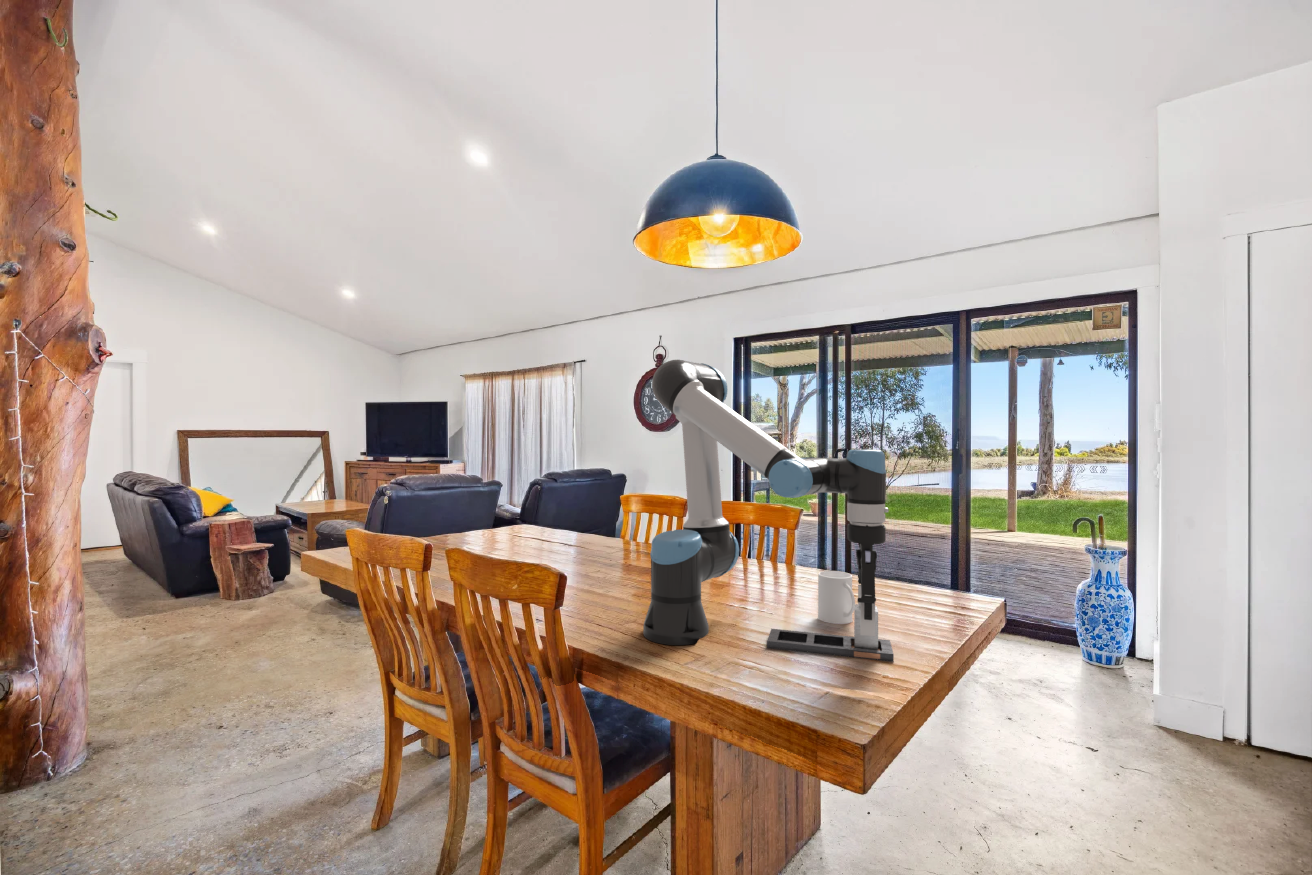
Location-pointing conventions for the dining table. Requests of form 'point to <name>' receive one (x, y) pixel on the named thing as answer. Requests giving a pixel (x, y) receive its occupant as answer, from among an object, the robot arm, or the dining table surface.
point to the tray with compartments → (827, 645)
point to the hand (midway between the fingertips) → (866, 624)
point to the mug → (835, 597)
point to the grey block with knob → (864, 640)
